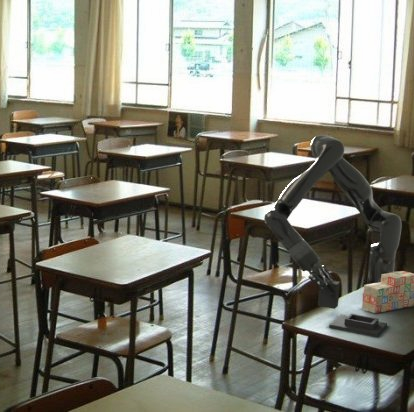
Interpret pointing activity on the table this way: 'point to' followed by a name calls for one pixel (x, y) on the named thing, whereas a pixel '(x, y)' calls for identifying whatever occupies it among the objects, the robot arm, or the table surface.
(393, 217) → the robot arm
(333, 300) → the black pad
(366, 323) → the base pad
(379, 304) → the stack of blocks
